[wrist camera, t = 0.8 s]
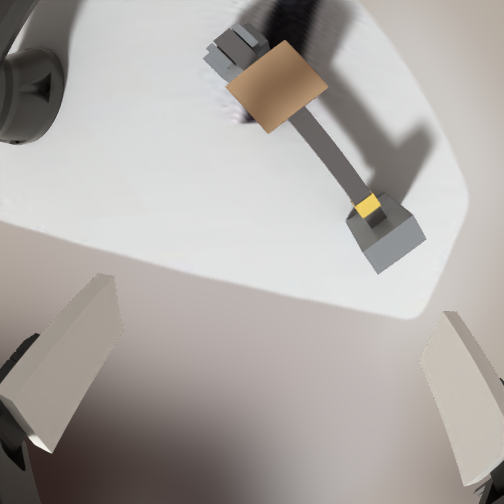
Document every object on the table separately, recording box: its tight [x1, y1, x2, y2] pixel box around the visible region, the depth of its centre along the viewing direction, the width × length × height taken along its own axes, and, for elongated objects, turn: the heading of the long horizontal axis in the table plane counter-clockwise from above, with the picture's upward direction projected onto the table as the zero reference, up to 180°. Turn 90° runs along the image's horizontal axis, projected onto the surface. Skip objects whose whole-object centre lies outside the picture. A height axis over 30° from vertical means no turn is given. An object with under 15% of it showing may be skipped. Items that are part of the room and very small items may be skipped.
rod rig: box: [203, 22, 426, 274], centre depth 28 cm, size 27×6×9 cm, turn 41°
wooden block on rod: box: [225, 40, 328, 134], centre depth 24 cm, size 5×6×9 cm
